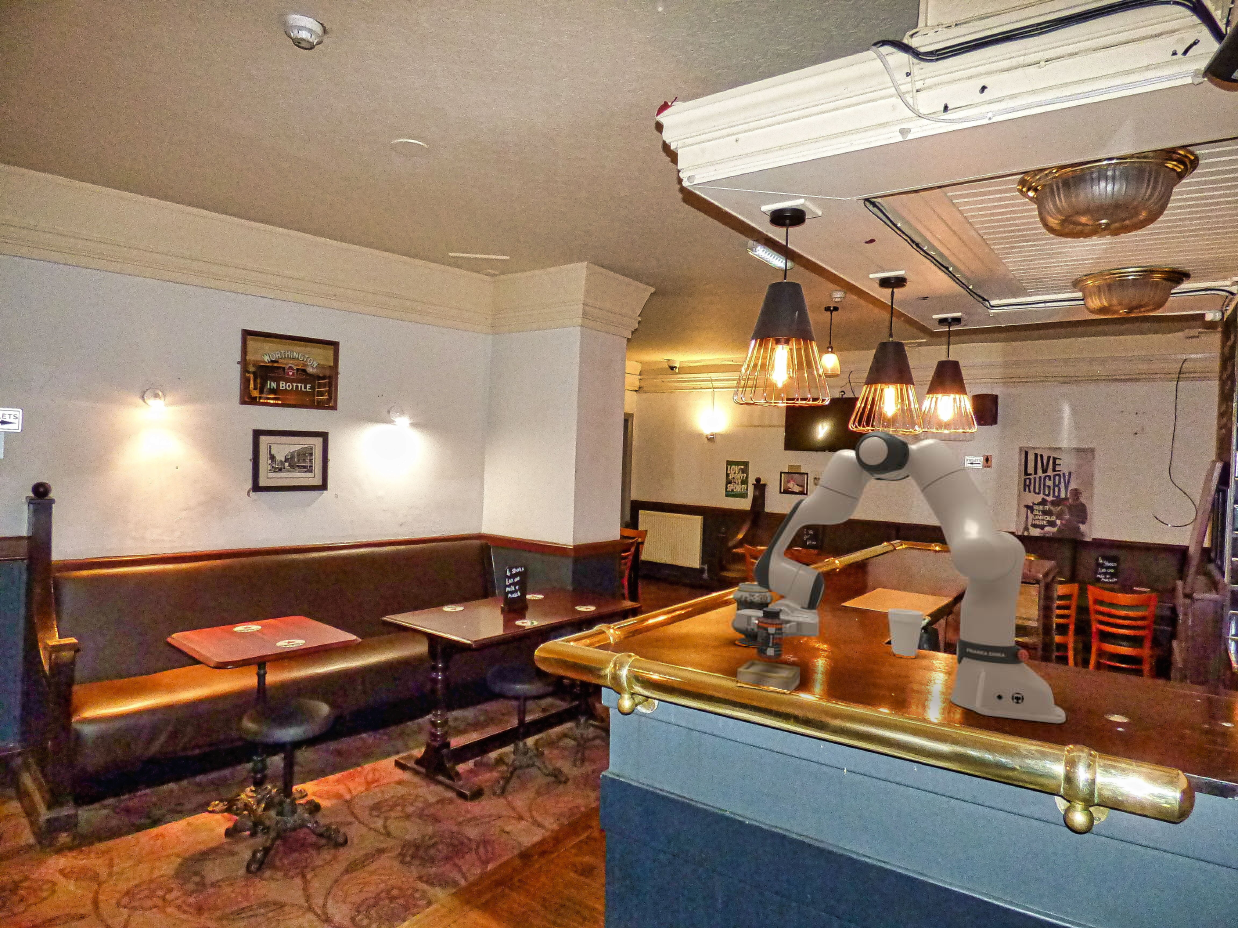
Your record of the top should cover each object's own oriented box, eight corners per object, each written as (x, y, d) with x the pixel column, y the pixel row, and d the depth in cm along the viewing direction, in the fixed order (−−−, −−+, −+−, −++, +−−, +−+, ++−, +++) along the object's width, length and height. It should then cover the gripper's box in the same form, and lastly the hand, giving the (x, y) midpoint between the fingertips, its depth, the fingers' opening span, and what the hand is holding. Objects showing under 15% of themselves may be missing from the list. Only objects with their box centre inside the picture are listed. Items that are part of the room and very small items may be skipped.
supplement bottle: (776, 661, 169) (778, 612, 169) (752, 657, 172) (754, 608, 172) (785, 656, 174) (787, 609, 174) (761, 652, 177) (763, 605, 177)
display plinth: (799, 682, 175) (800, 666, 175) (788, 694, 164) (789, 677, 165) (750, 675, 180) (751, 659, 181) (736, 685, 170) (737, 669, 170)
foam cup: (924, 661, 207) (925, 615, 208) (890, 658, 209) (891, 612, 210) (917, 654, 217) (919, 610, 217) (884, 651, 218) (886, 607, 219)
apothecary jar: (758, 639, 227) (761, 581, 227) (779, 648, 215) (781, 587, 216) (723, 640, 223) (726, 581, 224) (742, 649, 211) (745, 586, 212)
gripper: (743, 601, 189) (727, 608, 177) (824, 611, 181) (813, 618, 168) (742, 625, 189) (726, 634, 177) (822, 636, 180) (812, 646, 168)
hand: (769, 626), depth 172 cm, fingers closed on supplement bottle, 6 cm apart
